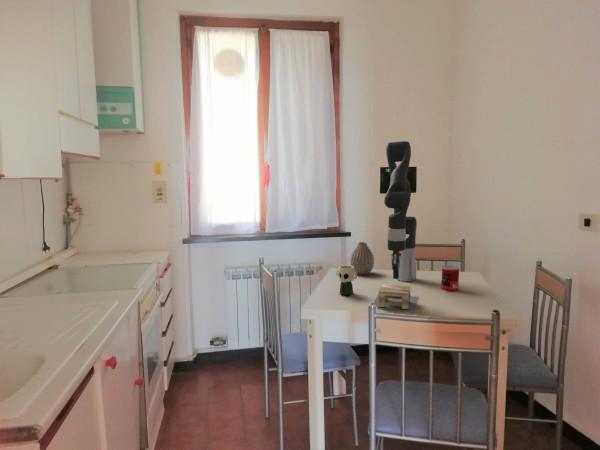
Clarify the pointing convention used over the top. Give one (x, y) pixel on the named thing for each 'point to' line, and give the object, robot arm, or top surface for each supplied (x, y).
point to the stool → (394, 295)
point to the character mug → (346, 279)
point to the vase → (362, 259)
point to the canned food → (450, 278)
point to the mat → (399, 308)
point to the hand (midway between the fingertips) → (395, 278)
